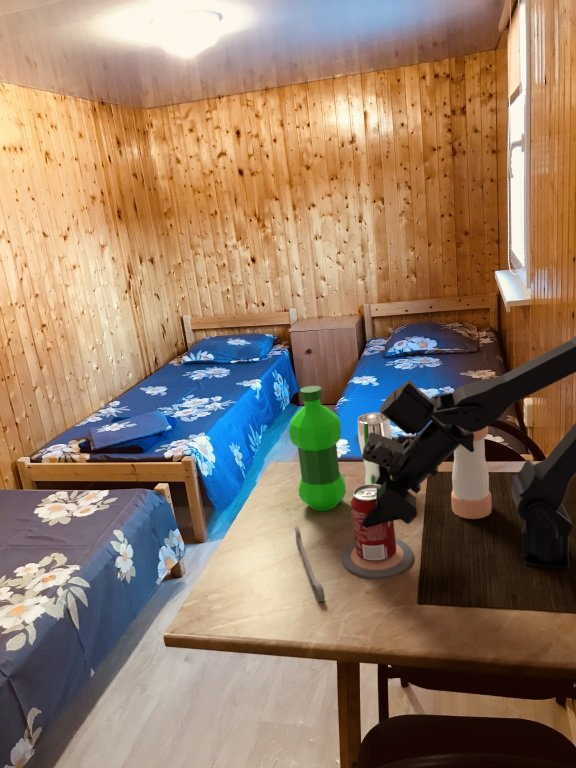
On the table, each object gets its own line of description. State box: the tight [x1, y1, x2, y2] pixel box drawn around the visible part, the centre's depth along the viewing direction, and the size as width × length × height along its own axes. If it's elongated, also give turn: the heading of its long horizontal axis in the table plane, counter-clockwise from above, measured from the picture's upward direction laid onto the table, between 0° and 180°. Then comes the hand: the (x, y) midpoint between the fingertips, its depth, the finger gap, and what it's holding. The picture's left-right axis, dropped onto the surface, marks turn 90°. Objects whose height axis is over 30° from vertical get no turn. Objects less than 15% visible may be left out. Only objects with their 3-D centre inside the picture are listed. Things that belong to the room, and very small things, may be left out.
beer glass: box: [357, 411, 393, 485], centre depth 131 cm, size 7×7×15 cm
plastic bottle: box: [288, 385, 347, 512], centre depth 123 cm, size 10×10×25 cm
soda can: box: [350, 484, 396, 563], centre depth 104 cm, size 7×7×12 cm
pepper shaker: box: [450, 425, 493, 520], centre depth 115 cm, size 7×7×19 cm
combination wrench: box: [294, 525, 325, 603], centre depth 105 cm, size 4×1×20 cm
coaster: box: [341, 537, 414, 579], centre depth 106 cm, size 12×12×1 cm
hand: (365, 513), depth 104 cm, fingers open, 7 cm apart
